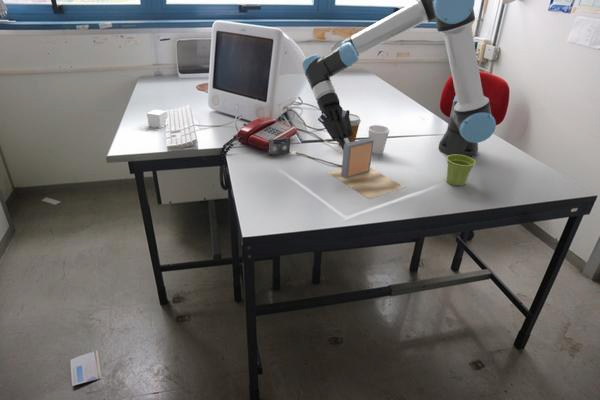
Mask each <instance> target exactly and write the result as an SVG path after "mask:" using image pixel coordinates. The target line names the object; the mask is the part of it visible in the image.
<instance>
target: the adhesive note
mask: <svg viewBox="0 0 600 400" xmlns="http://www.w3.org/2000/svg"><path fill="white" fill-rule="evenodd" d="M146 117H147V124H148V127H149V126H152V127H151V128H156V127H159V128H158V129H162V128H164V127H165V122H166V119H167V118H168V119H169V117H168V111H167V110H161V109H153V110H151V111H149V112H146ZM161 127H162V128H161Z"/></svg>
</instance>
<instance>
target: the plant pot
mask: <svg viewBox="0 0 600 400" xmlns="http://www.w3.org/2000/svg"><path fill="white" fill-rule="evenodd" d="M446 161H447V169H446V170H447V171H446V172H447V173H446V181H447V183H448V184H449V185H452V186H454V187H455V186H460V187H462V186H464V185H465V184H466V181H467V179H468V177H469V175H470V172H471V170H472V168H473V167H474V166H475V164H476V162H477V161H476V160H475V159H474V158H473V157H468V156H465V155H459V154H453V155H447V156H446Z"/></svg>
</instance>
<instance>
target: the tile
mask: <svg viewBox="0 0 600 400" xmlns="http://www.w3.org/2000/svg"><path fill="white" fill-rule="evenodd" d="M373 141H374V140H372V139H370V138H369V137H367V138H363V139H358V140H355V141H353V142H349V143H345V144H344V149H343V154H342V161H341V162H342V163H341V168H342V172H341V176H342V177H344V178H345V179H346V178H349V177H353V176H356V175H360V174H363V173H367V172H369V171H370V168H371V163H372V154H373V153H372V149H373Z"/></svg>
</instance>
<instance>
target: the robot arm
mask: <svg viewBox="0 0 600 400" xmlns="http://www.w3.org/2000/svg"><path fill="white" fill-rule="evenodd" d="M475 2H476V1H475V0H415V1H414V2H412V3H409V4H408V5H406V6H404V7H403V8H400V9H399V10H397V11H395V12H393V13H392V14H389V15H387V16H386V17H383V18H382V19H380V20H378V21H377V22H375V23H373V24H371V25H369V26H367V27H365V28H363V29H362V30H360V31H358V32H356V33H354V34H353V35H350V36H349V37H347V38H344V39H343V40H339V41H338V42H336V43H335V44H334V45H333V48H332V50H331V51H330V52H329V53H327V54H325V55H323V56H320V54H316V53H315V54H312V55H309V56H307V57H306V58H304V60H303V61H302V64H301V65H302V68H303V72H304V76H305V77H306V79H307V82H308V83H309V86H310V89H311V92H312V94H313V96H314V98H315V100H316V103H317V105H318V108H319V111H320V112H321V115H320V116H319V117H318V118H317V121H319V123H321V125H322V126H323V127H324V128H325V130H326V131H327V133H328V134H329V136H330V138H331V140H333V141H334V142H335V141H336V143H338V144H339V143H340V145H341V146H340V147H341V150H344V144H345V143H349V142H351V140H350V136H351V135H353V132H352V127H351V123H350V118H349V114H351V113H350V110H348V109H347V110H344V108H343V107H342V106H341V103H340V99H339V97H338V95H337V93H336V89H335V88H334V87H335V86H334V85H333V83H332V81H331V78H332V77H333V76H335V75H337V74H338V73H340V72H341V71H344V70H345V69H348V68H349V67H351V66H353V65H354V64H355V63H357V62H358V61H359V56H360V55H363V54H364V53H366V52H368V51H370V50H372V49H374V48H376V47H378V46H380V45H382V44H383V43H385V42H388V41H390V40H391V39H394V38H395V37H397V36H399V35H401V34H403V33H406V32H407V31H410V30H412V29H413V28H415V27H417V26H419V25H421V24H423V23H426V24H429V23H431V22H433V21H435V24H436V29H437V30H436V31H437V33H439V34H441V35H442V36H443V39H444V44H445V48H446V52H447V57H448V63H449V68H450V72H451V78H452V81H453V88H454V93H455V96H454V99H453V100H452V106H451V111H450V115H449V119H448V123H447V129H446V131H445V133H444V134H443V136H442V137H441V140H440V141H439V144H438V150H439V152H441V153H443V154H445V155H447V156H449V155H453V154H459V155H465V156H468V157H471V158H474V157H476V156H477V154H478V151H479V143H481V142H486V140H488V139H490V138H491V136H493V134H494V133H495V131H496V128H497V122H496V118H495V117H494V116H493V115H492V110H491V108H492V107H491V104H490V98H489V97H487V96H485V95H484V91H483V86H482V81H481V76H480V75H481V74H480V70H479V64H478V59H477V58H478V57H477V52H476V47H475V46H476V45H475V41H474V36H473V35H474V34H473V29H472V25H473V24H474V22H475V21H476V15H475V9H474V7H475Z"/></svg>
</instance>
